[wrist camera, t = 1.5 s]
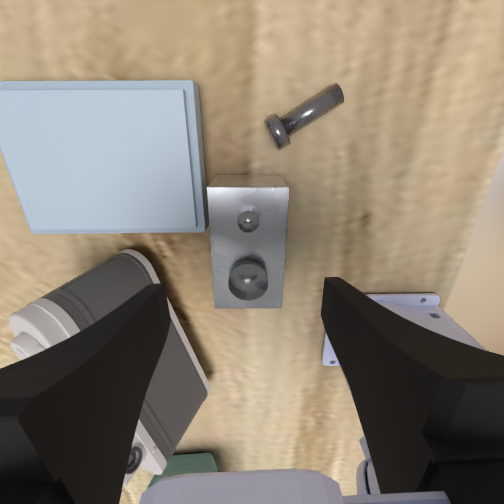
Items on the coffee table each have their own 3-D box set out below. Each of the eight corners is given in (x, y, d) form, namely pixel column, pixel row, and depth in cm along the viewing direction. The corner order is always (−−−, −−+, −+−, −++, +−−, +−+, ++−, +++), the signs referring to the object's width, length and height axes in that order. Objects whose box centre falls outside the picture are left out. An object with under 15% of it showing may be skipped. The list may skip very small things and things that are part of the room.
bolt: (329, 78, 17) (340, 71, 15) (342, 109, 17) (353, 106, 16) (263, 121, 18) (264, 120, 16) (277, 149, 18) (280, 151, 16)
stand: (198, 86, 17) (190, 78, 14) (209, 223, 20) (204, 234, 18) (4, 86, 17) (-34, 79, 14) (50, 224, 20) (26, 236, 18)
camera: (153, 242, 20) (-14, 345, 11) (224, 393, 25) (147, 535, 17) (82, 253, 24) (-76, 333, 16) (155, 380, 30) (68, 488, 21)
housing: (279, 174, 19) (292, 191, 14) (274, 272, 22) (283, 317, 17) (216, 174, 19) (204, 190, 14) (221, 272, 22) (212, 317, 17)
